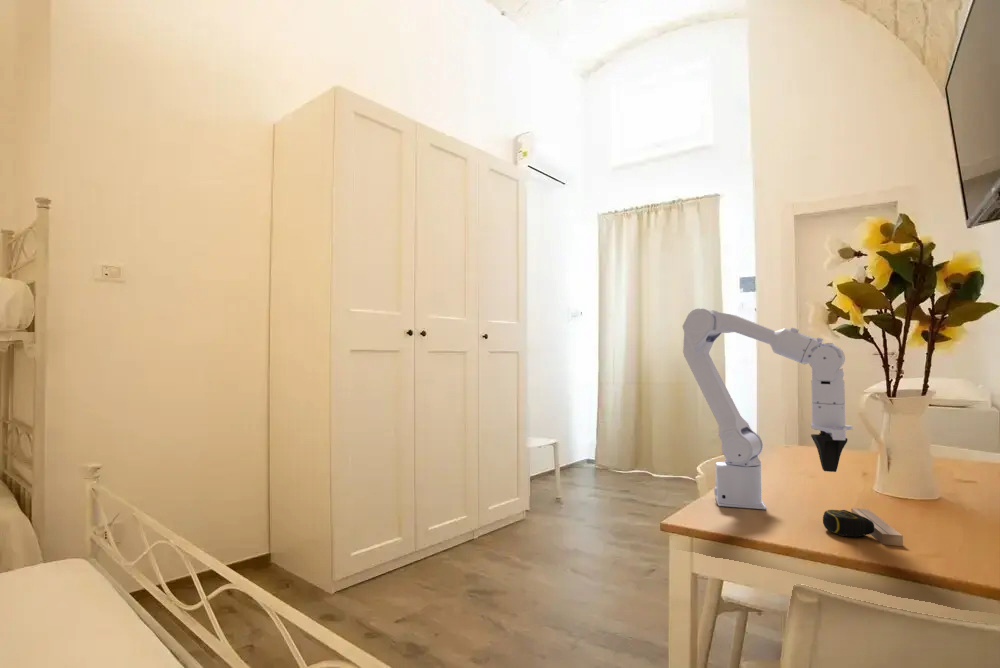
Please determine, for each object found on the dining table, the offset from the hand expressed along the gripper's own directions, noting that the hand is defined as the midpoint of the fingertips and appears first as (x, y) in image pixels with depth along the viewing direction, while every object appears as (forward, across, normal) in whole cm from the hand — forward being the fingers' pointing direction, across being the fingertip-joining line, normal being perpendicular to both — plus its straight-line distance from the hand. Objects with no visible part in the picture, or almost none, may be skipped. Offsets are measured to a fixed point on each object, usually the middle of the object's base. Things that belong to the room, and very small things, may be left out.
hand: (829, 470), depth 107 cm
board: (+9, -6, -6) cm, 13 cm away
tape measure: (+10, -9, 0) cm, 13 cm away
